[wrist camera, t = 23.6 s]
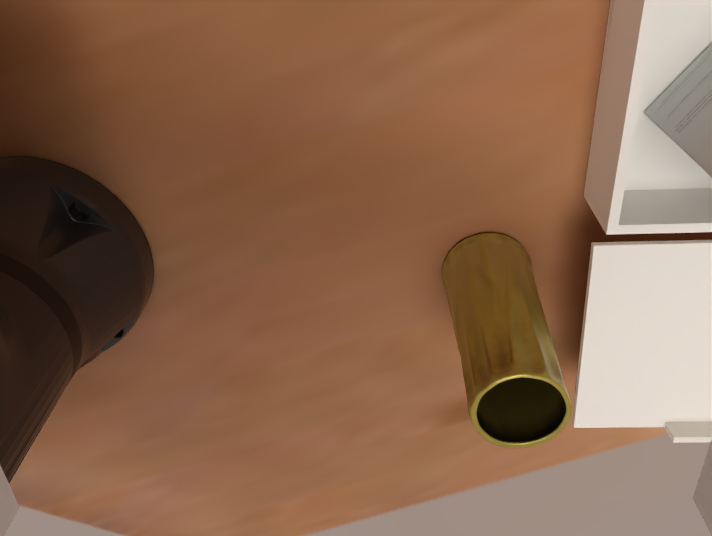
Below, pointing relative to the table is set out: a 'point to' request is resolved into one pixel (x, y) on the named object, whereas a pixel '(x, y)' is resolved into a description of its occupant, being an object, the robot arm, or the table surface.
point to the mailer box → (646, 121)
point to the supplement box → (689, 111)
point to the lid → (647, 339)
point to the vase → (504, 343)
